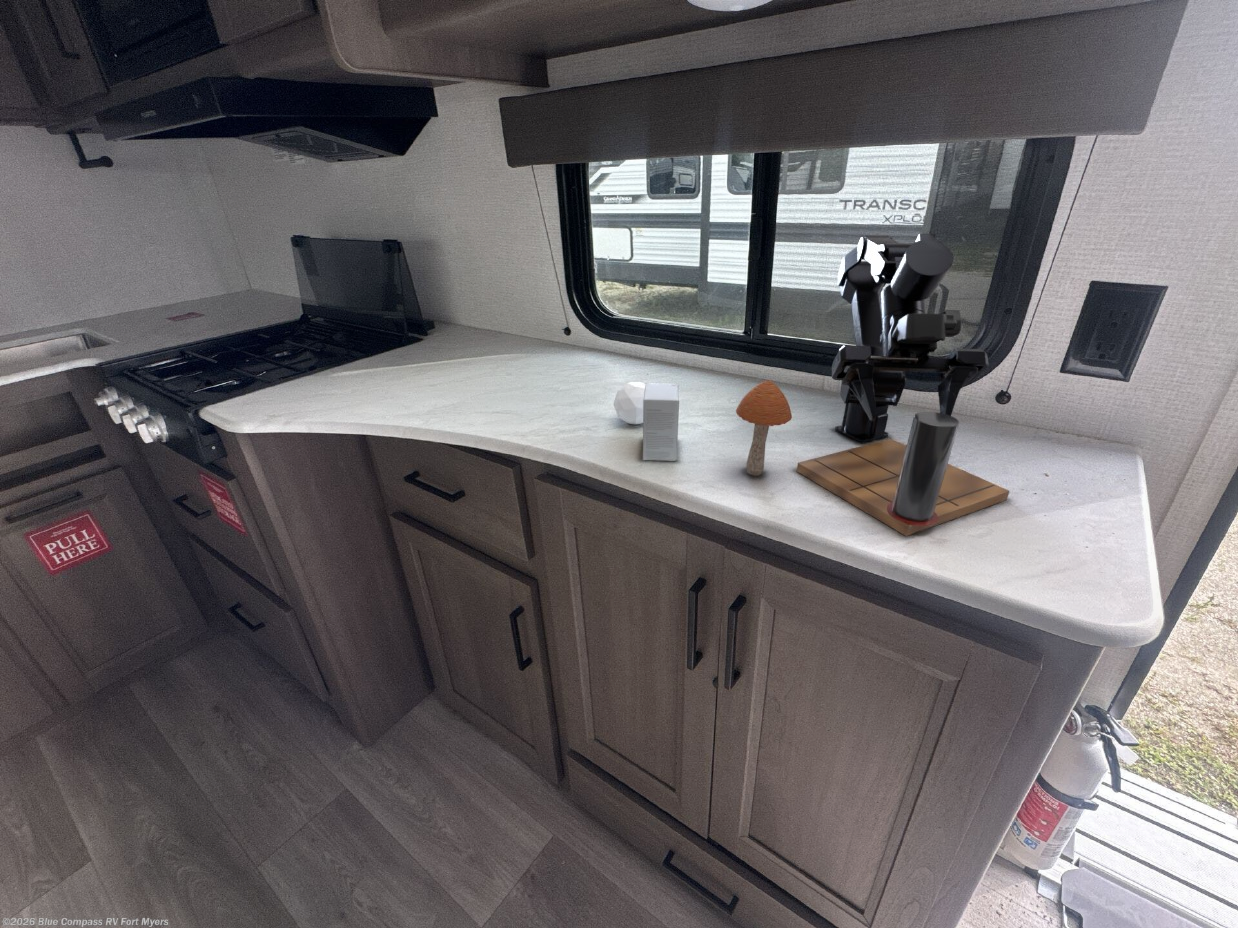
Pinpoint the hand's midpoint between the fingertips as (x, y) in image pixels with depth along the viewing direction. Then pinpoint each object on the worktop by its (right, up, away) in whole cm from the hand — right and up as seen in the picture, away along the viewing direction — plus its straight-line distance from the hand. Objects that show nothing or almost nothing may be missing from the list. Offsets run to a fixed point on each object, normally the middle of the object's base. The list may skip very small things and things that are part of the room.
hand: (909, 421), depth 76 cm
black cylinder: (-1, -12, -3) cm, 12 cm away
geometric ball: (-36, +2, +30) cm, 47 cm away
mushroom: (-18, -7, +11) cm, 22 cm away
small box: (-32, -4, +18) cm, 37 cm away
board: (+2, -9, +7) cm, 11 cm away
